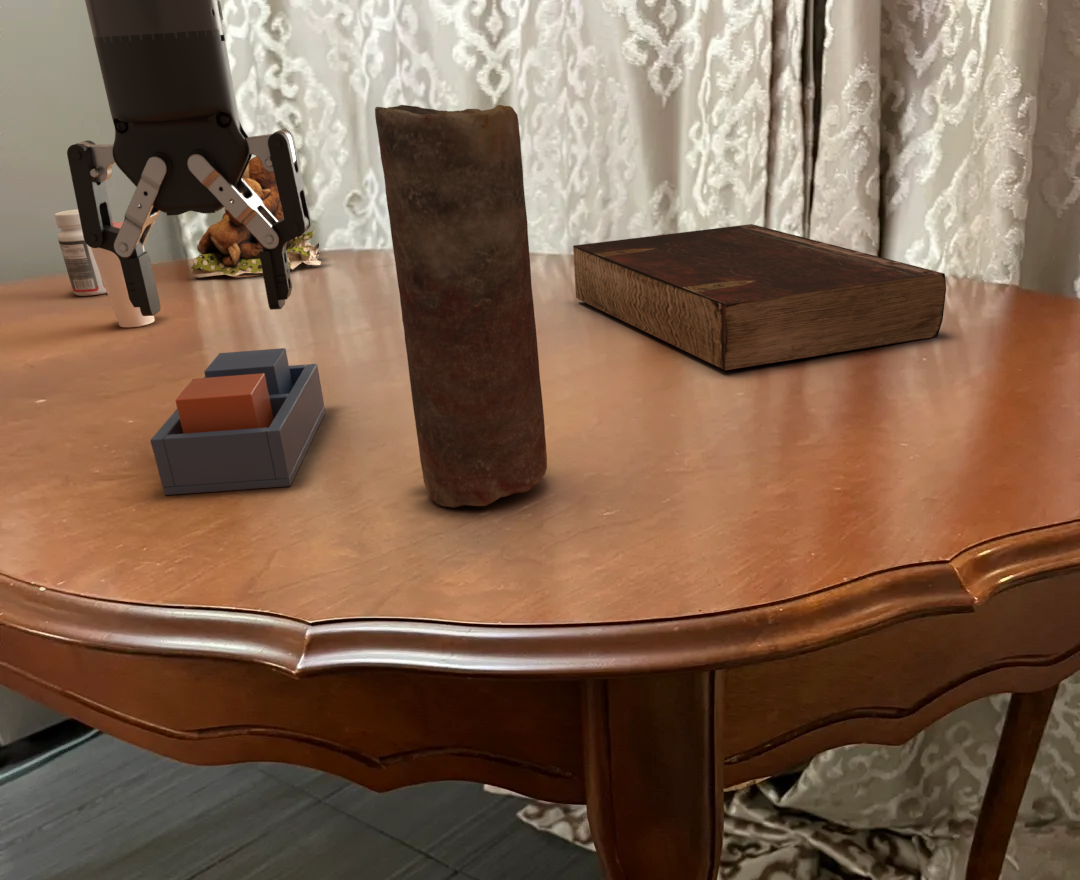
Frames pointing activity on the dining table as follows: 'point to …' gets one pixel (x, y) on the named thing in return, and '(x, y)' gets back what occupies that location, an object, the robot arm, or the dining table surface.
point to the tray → (243, 445)
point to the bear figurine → (248, 235)
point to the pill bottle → (78, 256)
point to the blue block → (255, 367)
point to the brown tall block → (465, 298)
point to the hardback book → (758, 294)
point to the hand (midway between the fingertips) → (215, 310)
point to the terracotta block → (225, 404)
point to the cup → (118, 288)
